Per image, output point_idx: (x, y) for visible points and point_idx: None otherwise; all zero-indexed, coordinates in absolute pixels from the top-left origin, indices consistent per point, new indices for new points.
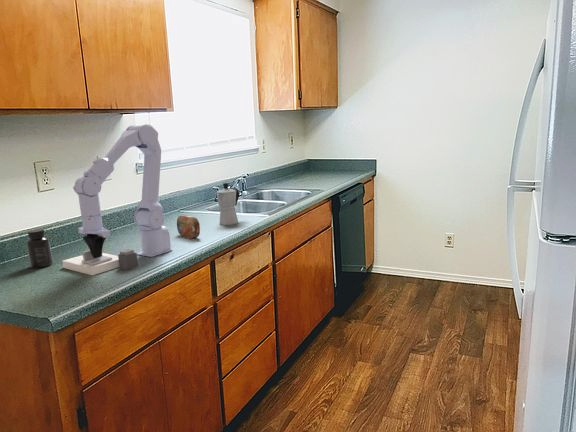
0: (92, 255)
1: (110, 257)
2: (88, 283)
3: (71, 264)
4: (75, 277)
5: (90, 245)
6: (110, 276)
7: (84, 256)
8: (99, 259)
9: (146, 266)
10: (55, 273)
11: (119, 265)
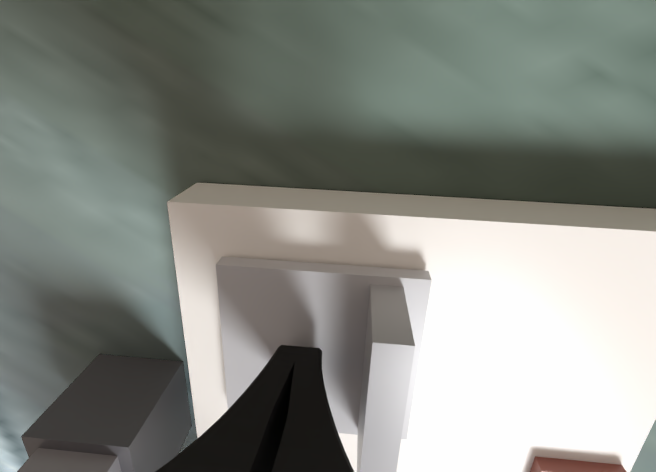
0: (315, 360)
1: None
2: (9, 29)
3: (537, 219)
4: (282, 80)
5: (259, 450)
6: (52, 224)
7: (374, 310)
8: None
9: None
10: (611, 64)
11: (173, 376)
